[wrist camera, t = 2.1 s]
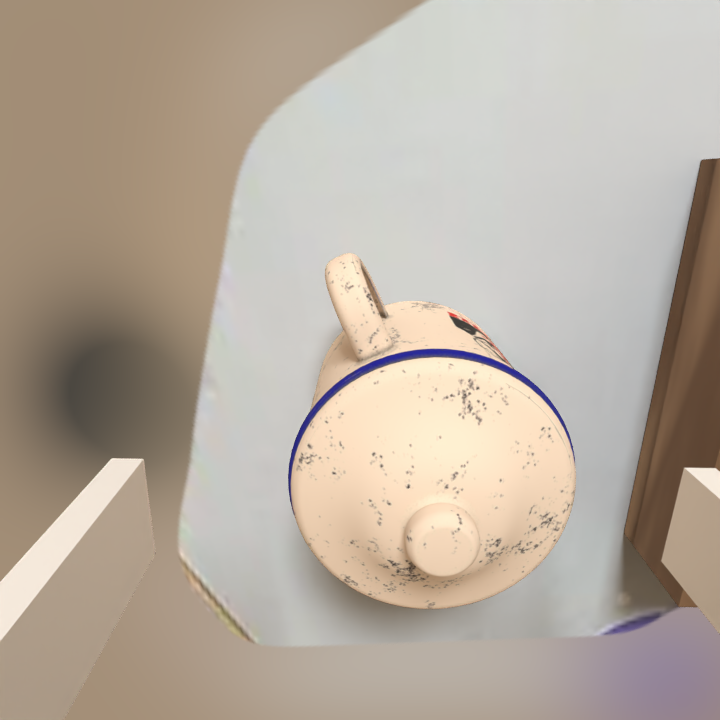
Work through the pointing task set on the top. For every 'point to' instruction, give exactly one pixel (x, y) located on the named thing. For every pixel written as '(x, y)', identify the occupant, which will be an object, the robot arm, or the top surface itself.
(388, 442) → the teacup with lid
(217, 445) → the top surface
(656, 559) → the walnut box
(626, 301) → the top surface
